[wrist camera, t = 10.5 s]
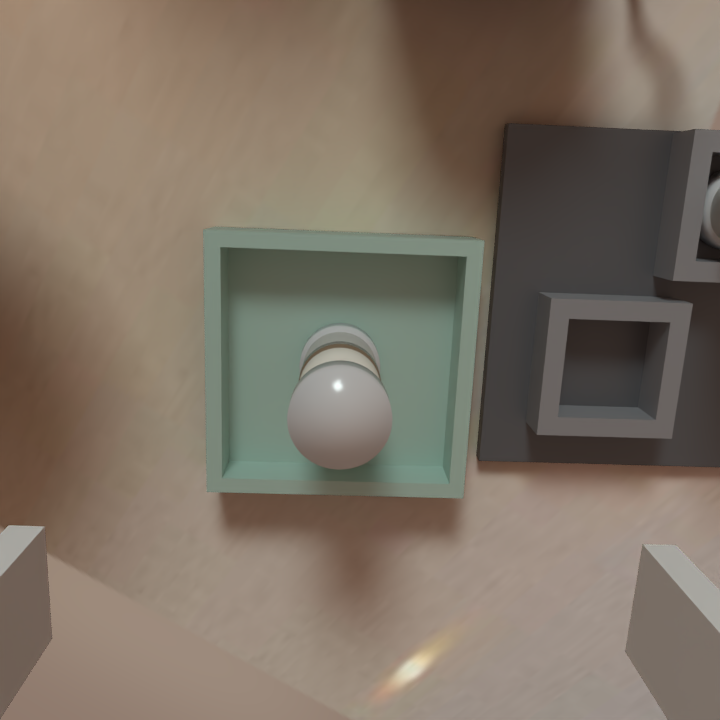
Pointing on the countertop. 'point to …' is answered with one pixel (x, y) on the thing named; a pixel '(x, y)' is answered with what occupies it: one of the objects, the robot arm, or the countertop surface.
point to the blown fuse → (339, 399)
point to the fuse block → (605, 299)
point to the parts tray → (326, 306)
